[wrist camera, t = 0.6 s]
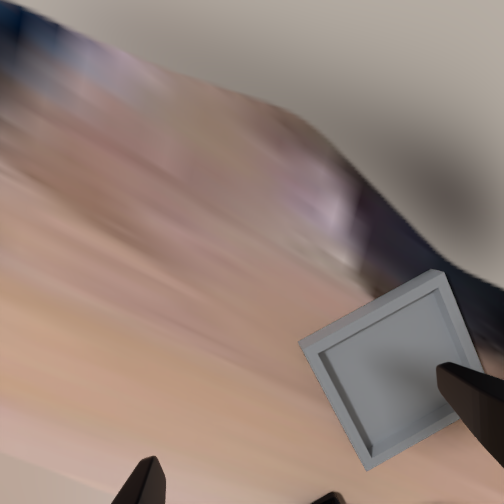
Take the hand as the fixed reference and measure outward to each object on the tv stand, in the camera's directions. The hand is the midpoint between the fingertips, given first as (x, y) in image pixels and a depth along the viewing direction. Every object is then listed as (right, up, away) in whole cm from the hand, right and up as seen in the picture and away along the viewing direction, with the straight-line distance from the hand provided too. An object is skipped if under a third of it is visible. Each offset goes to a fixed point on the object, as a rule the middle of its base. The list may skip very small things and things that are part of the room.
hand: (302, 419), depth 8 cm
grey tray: (+12, -6, +18) cm, 22 cm away
